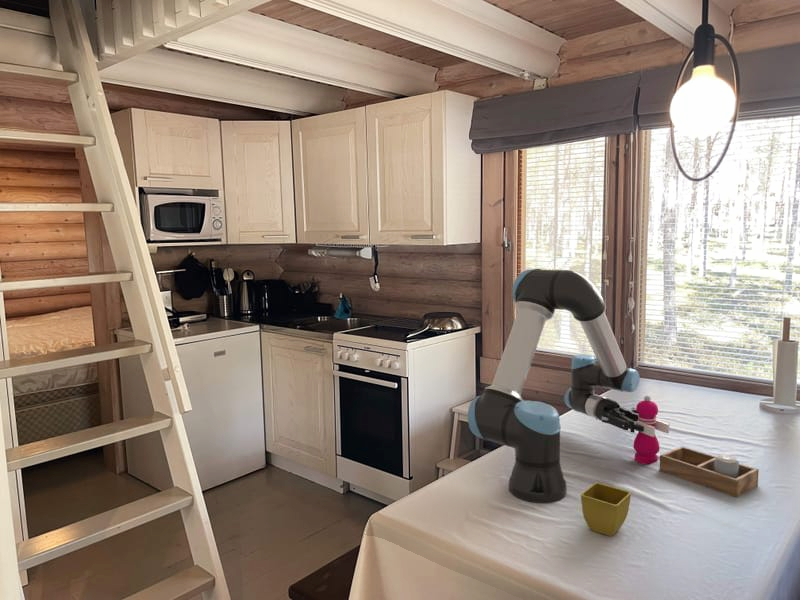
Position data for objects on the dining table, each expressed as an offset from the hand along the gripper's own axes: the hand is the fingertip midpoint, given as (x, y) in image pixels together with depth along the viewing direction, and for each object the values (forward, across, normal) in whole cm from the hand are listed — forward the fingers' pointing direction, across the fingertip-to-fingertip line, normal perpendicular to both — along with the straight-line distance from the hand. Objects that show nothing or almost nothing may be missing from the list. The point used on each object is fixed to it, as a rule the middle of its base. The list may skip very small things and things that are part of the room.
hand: (661, 430), depth 172 cm
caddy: (+13, -3, -11) cm, 17 cm away
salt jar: (+18, -4, -10) cm, 21 cm away
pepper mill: (-5, 0, -11) cm, 12 cm away
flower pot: (+20, +39, -11) cm, 45 cm away
